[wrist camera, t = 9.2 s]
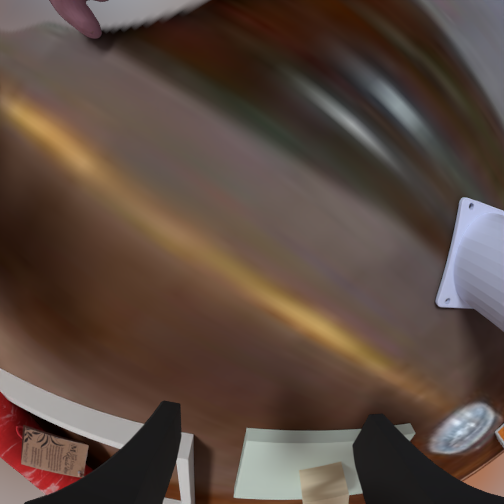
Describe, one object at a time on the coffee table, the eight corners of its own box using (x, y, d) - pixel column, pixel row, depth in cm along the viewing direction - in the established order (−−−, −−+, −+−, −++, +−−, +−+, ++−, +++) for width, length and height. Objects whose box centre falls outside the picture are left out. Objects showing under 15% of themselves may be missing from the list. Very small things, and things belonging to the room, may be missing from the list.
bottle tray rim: (193, 434, 22) (188, 459, 19) (195, 505, 27) (192, 523, 24) (-33, 348, 21) (-46, 359, 18) (10, 437, 26) (3, 448, 23)
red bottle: (-31, 385, 13) (168, 539, 18) (11, 347, 21) (171, 490, 26) (-51, 418, 13) (107, 544, 18) (-20, 386, 21) (115, 505, 26)
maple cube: (341, 461, 21) (348, 493, 17) (341, 478, 22) (348, 507, 18) (299, 470, 21) (302, 503, 17) (303, 486, 22) (306, 516, 18)
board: (410, 423, 22) (415, 433, 20) (366, 483, 25) (368, 492, 23) (246, 427, 21) (246, 440, 20) (234, 487, 25) (233, 497, 23)
